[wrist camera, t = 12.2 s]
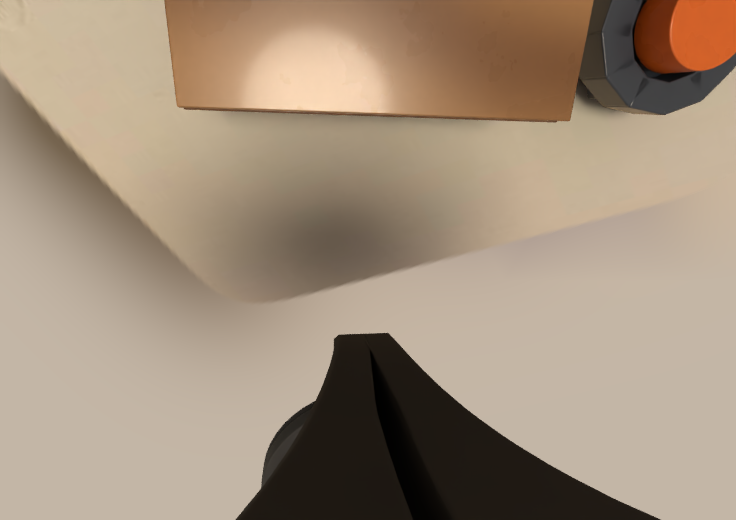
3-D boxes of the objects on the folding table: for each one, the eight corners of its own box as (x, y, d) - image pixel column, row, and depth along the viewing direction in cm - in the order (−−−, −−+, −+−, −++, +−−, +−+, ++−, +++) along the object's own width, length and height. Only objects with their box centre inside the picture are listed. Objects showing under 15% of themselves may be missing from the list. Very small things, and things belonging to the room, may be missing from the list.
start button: (712, 56, 16) (756, 52, 15) (636, 85, 16) (672, 84, 15) (712, -36, 15) (760, -52, 13) (629, -4, 15) (668, -17, 13)
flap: (563, 121, 13) (570, 121, 13) (180, 107, 12) (176, 107, 11) (601, -80, 11) (611, -86, 11) (153, -127, 10) (147, -136, 10)
